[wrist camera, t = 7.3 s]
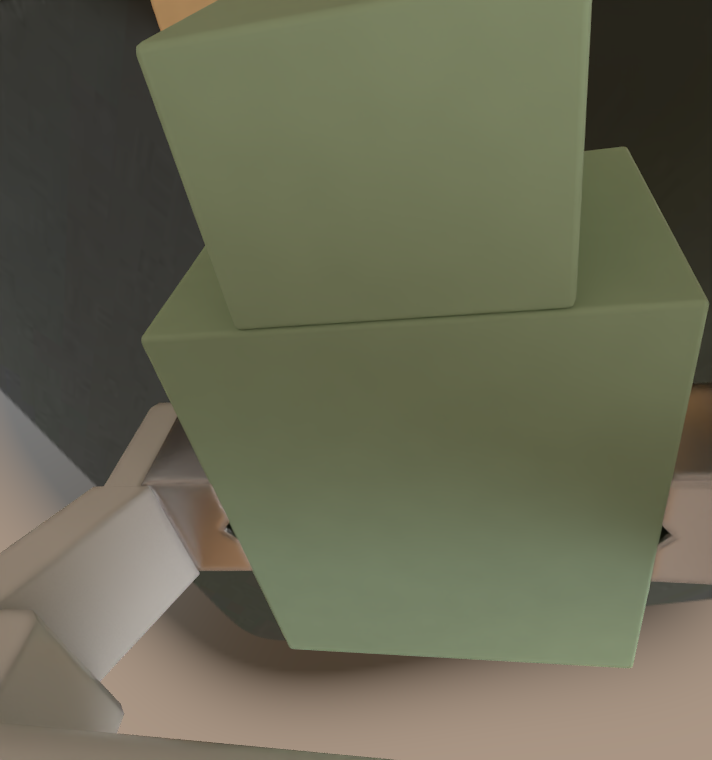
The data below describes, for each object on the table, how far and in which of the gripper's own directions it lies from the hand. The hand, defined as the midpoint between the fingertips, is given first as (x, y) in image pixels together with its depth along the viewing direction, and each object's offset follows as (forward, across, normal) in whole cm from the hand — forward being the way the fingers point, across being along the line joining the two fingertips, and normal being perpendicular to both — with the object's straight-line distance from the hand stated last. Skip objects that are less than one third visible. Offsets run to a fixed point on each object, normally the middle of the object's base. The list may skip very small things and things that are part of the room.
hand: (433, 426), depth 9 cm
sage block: (+2, 0, -1) cm, 2 cm away
